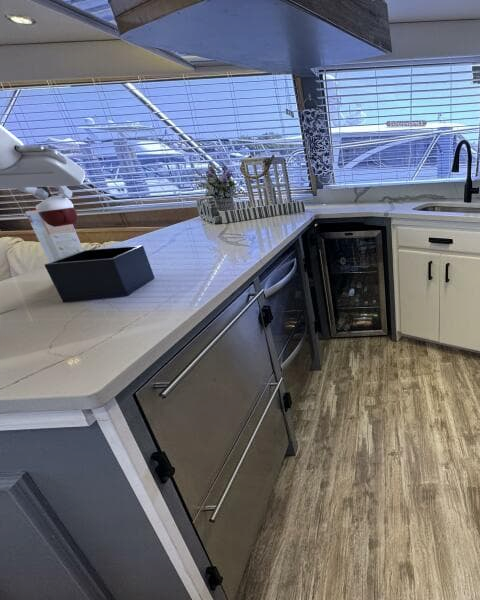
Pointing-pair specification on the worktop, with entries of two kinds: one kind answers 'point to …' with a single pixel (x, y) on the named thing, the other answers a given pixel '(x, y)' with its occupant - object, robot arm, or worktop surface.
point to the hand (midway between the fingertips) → (56, 196)
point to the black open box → (100, 273)
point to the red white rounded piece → (56, 210)
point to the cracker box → (55, 238)
